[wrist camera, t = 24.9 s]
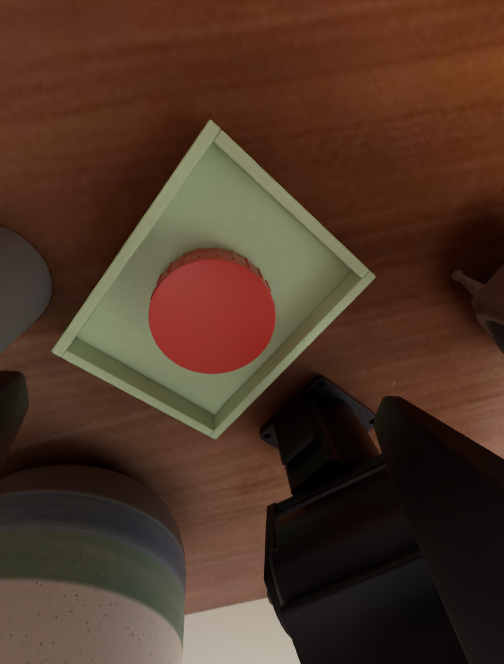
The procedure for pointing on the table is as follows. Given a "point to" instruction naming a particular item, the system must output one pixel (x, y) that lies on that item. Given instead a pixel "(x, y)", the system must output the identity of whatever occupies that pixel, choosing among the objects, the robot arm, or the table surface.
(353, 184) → the table surface
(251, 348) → the jar lid
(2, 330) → the bottle
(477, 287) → the alarm clock
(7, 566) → the vase
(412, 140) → the table surface
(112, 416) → the table surface
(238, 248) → the tray
